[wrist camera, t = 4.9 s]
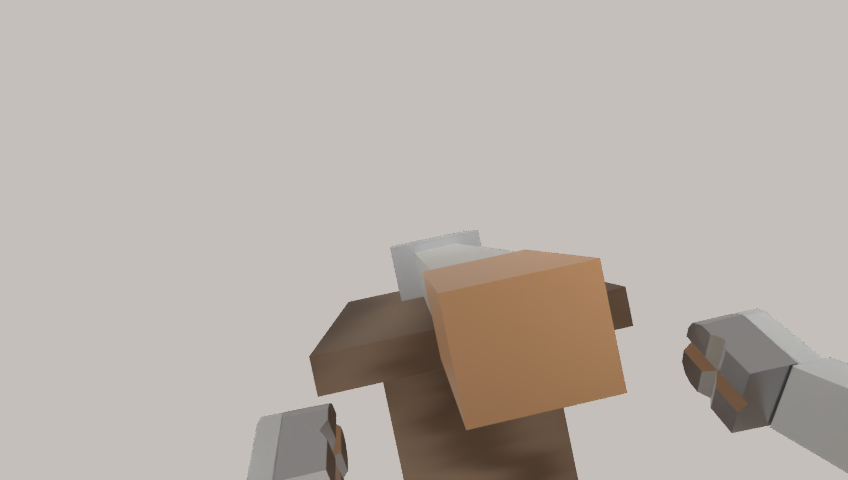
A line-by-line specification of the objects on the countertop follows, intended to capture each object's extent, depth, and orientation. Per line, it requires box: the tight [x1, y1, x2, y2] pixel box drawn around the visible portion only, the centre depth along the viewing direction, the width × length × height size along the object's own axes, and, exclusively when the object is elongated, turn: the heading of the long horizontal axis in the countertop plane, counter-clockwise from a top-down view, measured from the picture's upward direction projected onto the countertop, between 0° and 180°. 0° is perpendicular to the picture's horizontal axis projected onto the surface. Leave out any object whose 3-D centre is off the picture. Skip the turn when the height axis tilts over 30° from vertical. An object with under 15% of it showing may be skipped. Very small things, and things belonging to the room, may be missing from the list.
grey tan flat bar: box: [391, 230, 627, 430], centre depth 20 cm, size 5×23×3 cm, turn 3°
